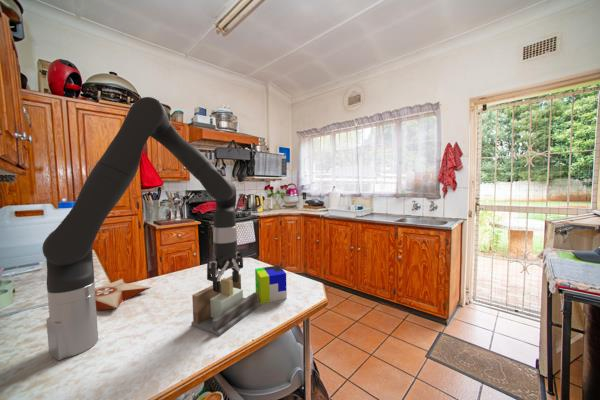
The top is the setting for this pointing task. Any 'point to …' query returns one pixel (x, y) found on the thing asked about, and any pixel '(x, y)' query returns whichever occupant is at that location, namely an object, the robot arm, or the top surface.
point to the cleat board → (227, 318)
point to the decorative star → (116, 294)
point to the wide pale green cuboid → (225, 298)
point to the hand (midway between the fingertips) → (226, 286)
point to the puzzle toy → (270, 284)
